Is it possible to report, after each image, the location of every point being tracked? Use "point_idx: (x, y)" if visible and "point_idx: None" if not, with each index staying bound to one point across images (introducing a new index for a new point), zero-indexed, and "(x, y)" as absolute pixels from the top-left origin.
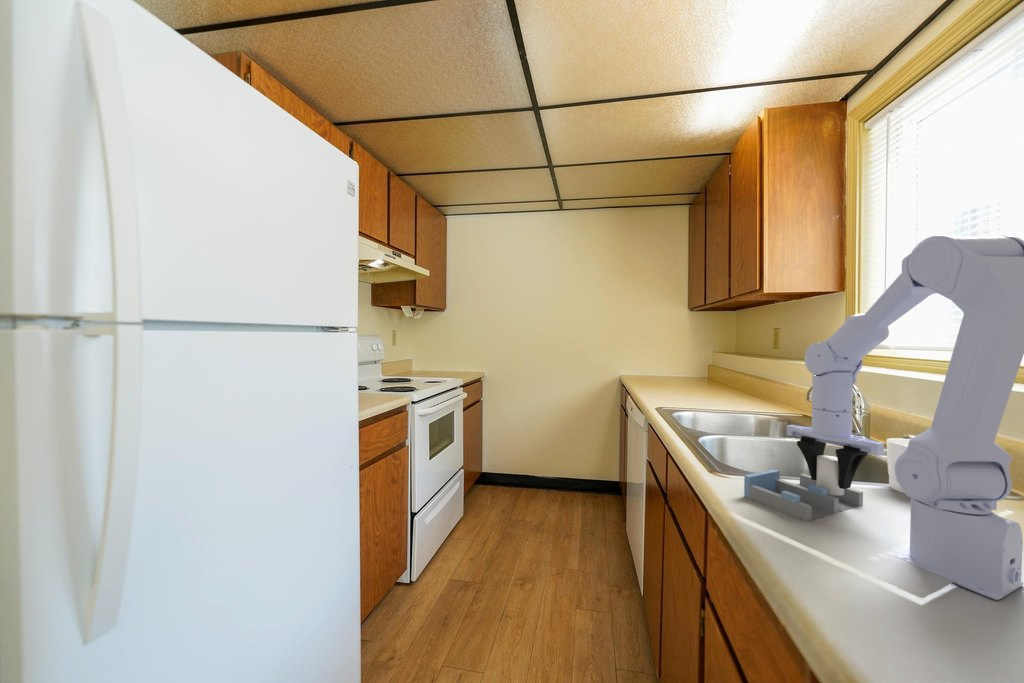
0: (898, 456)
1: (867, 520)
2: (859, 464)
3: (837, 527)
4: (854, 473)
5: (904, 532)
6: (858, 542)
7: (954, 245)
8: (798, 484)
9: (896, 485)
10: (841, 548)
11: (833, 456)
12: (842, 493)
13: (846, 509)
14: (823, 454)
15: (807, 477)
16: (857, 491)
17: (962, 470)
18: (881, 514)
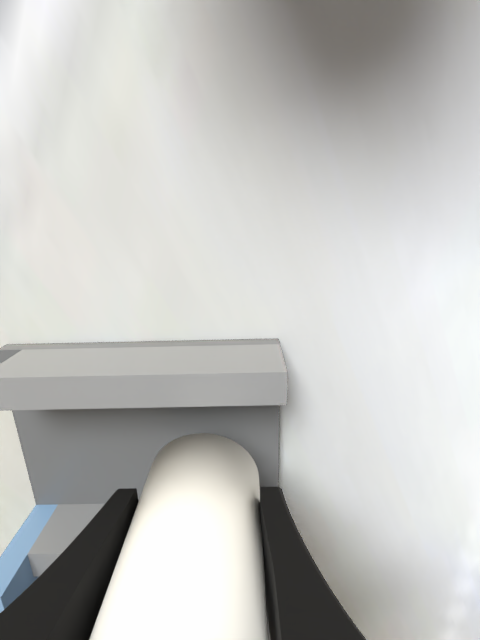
0: None
1: (343, 440)
2: (355, 630)
3: (322, 566)
4: (309, 558)
5: (449, 429)
6: (396, 599)
7: None
8: (5, 357)
9: None
10: None
11: (138, 635)
12: (259, 487)
13: (276, 451)
14: (53, 631)
15: (31, 409)
16: (272, 393)
17: None
18: (344, 333)
